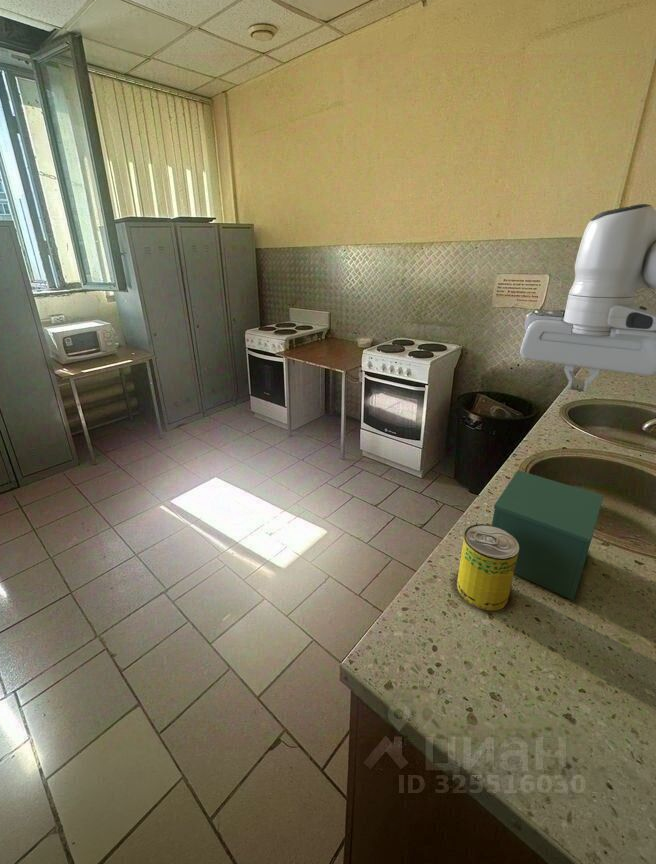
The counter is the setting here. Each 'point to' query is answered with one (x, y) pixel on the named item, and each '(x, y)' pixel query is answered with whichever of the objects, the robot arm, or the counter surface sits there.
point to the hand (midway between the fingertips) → (577, 389)
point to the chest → (545, 554)
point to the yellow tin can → (487, 566)
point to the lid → (551, 505)
